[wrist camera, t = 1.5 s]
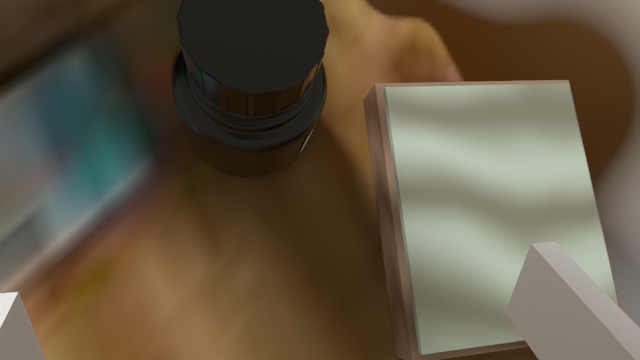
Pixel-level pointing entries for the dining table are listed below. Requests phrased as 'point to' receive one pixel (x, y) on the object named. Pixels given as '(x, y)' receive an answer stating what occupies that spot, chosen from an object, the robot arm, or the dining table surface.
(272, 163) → the ink bottle
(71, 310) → the dining table surface
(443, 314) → the mat platform
